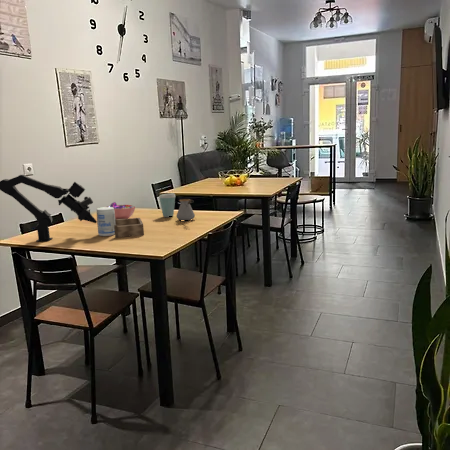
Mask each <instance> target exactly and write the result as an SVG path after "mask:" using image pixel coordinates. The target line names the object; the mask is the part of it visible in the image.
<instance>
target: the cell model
mask: <svg viewBox="0 0 450 450" xmlns="http://www.w3.org/2000/svg"><path fill="white" fill-rule="evenodd" d="M106 207H113V208H114V211H115V218H116V220H117V219H129V218H130V217H132V216H133V214H134V212H135V209H136V206H134V205H132V204H117V203H116V201H113V202H112V203H111V204H110V205H108V206H106Z"/></svg>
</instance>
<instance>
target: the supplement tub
mask: <svg viewBox="0 0 450 450" xmlns="http://www.w3.org/2000/svg"><path fill="white" fill-rule="evenodd" d="M96 221H97V222H96V224H97V235H98V236H100V237H110V236H115V230H114V225H115V211H114V208H113V207H107V206H103V207H97V208H96Z"/></svg>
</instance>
